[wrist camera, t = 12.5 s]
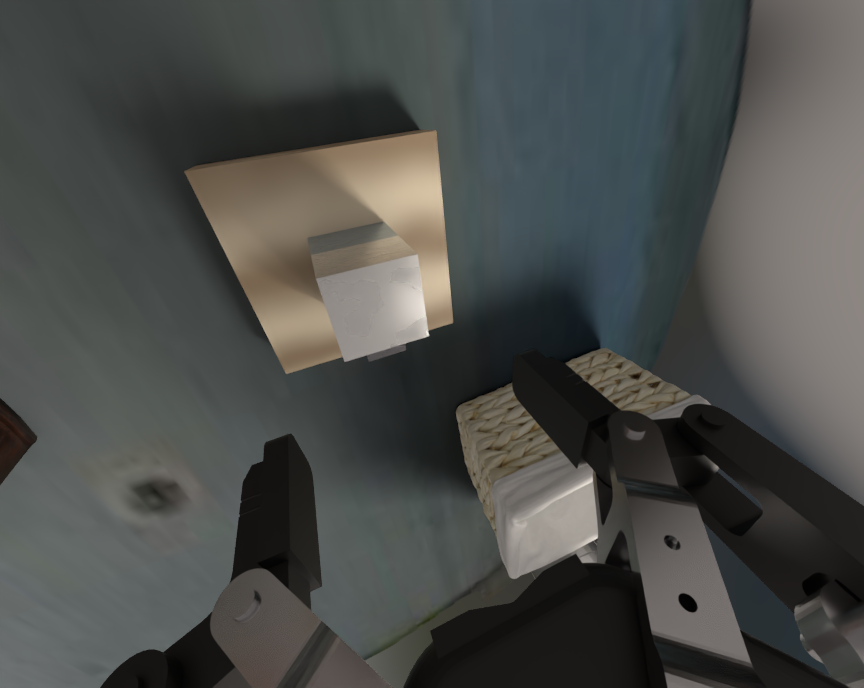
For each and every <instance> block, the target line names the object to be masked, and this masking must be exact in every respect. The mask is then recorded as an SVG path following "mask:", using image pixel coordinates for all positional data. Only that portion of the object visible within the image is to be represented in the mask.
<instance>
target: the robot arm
mask: <svg viewBox="0 0 864 688" xmlns="http://www.w3.org/2000/svg"><path fill="white" fill-rule="evenodd" d="M512 388H513V392H514V394H515V396H516V398H517V400H518V401H519V402H520V403H521V405H522V406H523V407H524V408H525V409H526V410H527V412H528V413H529V414H530V415H531V416H532V417H533V419H534V420H535V421H536V422H537V423H538V424H539V426H540V427H541V428H542V429H543V430H544V431H545V433H546V434H547V435H548V436H549V437H550V438H551V440H552V441H553V442H554V443H555V444H556V445H557V447H558V448H559V449H560V450H561V451H562V452H563V454H564V455H565V456H566V457H567V458H568V459H569V461H570V462H571V463H572V464H573V465H574V466H575V468H576V469H579V468H581V467H584V466H586V465H589V466H590V467H591V468H592V469H593V485H594V495H595V505H596V515H597V525H598V540H597V545H596V543H595V542H594V541H592V542H590V543H588V544H586V545H584V546H582V547H581V548H579V549H577V550H575V551H573V552H571V553H569V554H567V555H565V556H563V557H561V558H559V559H557V560H556V561H554V562H552V563H550V564H548V565H545V566H543V567H541V568H539V569H536V570H534V571H531V572H532V574H533V576H534V577H535V580H534V581H533V582H532V583H531V584H530V585H529V586H528V588H527V589H526V590H525V591H524V592H523V593H522V594H521V595H520V596H519V597H518V598H517V599H516V600H515V601H514V602H512V603H509V604H503V605H497V606H492V607H485V608H479V609H473V610H469V611H467V612H465V613H463V614H461V615H459V616H457V617H455V618H454V619H452V620H450V621H448V622H446V623H444V624H442V625H440V626H439V627H437V628H435V629H433V630H431V635H432V639H433V642H432V643H431V644H430V645H429V646H428V647H427V648H426V649H425V650H424V652H423V653H422V654H421V656H420V657H419V658H418V660H417V661H416V663H415V665H414V667H413V668H412V670H411V672H410V674H409V676H408V678H407V681H406V683H405V685H404V688H864V506H863V505H861V504H860V503H859V502H857V501H856V500H854V499H853V498H851V497H850V496H848V495H847V494H845V493H844V492H843V491H841V490H840V489H838V488H837V487H835V486H834V485H832V484H831V483H830V482H828V481H827V480H825V479H824V478H822V477H821V476H819V475H818V474H816V473H815V472H814V471H812V470H811V469H809V468H808V467H806V466H805V465H803V464H802V463H800V462H799V461H798V460H796V459H795V458H793V457H792V456H790V455H789V454H787V453H786V452H785V451H783V450H782V449H780V448H779V447H777V446H776V445H775V444H773V443H772V442H770V441H769V440H767V439H766V438H764V437H763V436H761V435H760V434H759V433H757V432H756V431H754V430H753V429H751V428H750V427H748V426H747V425H746V424H744V423H743V422H741V421H740V420H738V419H737V418H735V417H734V416H733V415H731V414H729V413H728V412H726V411H724V410H722V409H720V408H718V407H715V406H712V405H707V404H692V405H689V406H687V407H686V408H685V409H684V410H683V412H682V414H681V417H677V418H666V419H654V420H652V419H650V418H649V417H647V416H645V415H643V414H641V413H638V412H635V411H628V410H623V411H622V410H620V409H619V408H618V407H616V406H615V405H614V404H613V403H612V402H611V401H609V400H608V399H607V398H606V397H605V396H603V395H602V394H601V393H600V392H599V391H597V390H596V389H595V388H594V387H593V386H591V385H590V384H589V383H588V382H587V381H586V382H585V381H584V379H583V378H582V377H581V376H580V375H578V374H576V372H575V371H574V370H572V369H571V368H570V367H569V366H568V365H566V364H565V363H563V362H561V361H559V360H556V359H554V358H552V357H550V358H547V359H546V358H545V357H544V356H543V355H542V354H541V353H540V352H538V351H537V350H536V349H531V350H528V351H525V352H522V353H520V354H517V355H515V356H514V357H513V375H512ZM719 468H720V469H721V470H723V471H724V472H725V473H726V474H727V475H728V476H730V477H731V478H732V479H733V480H735V481H736V482H737V483H738V484H739V485H740V486H742V487H743V488H744V489H745V490H746V491H748V492H749V493H750V494H751V495H752V496H753V497H754V498H755V499H756V500H757V501H758V502H759V504H760V505H761V507H762V510H761V509H760V508H759V507H758V506H756V505H755V504H754V503H753V502H752V501H751V500H749V499H748V498H747V497H746V496H745V495H744V494H742V493H741V492H740V491H739V490H738V489H737V488H735V487H734V486H733V485H732V484H731V483H729V482H728V481H727V480H726V479H725V478H724V477H723V476H721V475H720V474H719V473H718V472H717V471H718V469H719ZM241 501H242V503H240V512H239V514H240V517H239V520H238V529H237V538H236V547H235V555H234V564H233V572H232V578H231V581H230V584H229V585H228V586H227V587H226V588H225V589H224V591H223V592H222V593H221V595H220V596H219V598H218V600H217V602H216V604H215V606H214V609H213V611H212V612H211V613H210V614H209V615H208V617H207V618H205V619H204V620H203V621H202V622H201V623H200V624H198V625H197V626H196V627H195V628H193V629H192V630H191V631H190V632H188V633H187V634H186V635H185V636H183V637H182V638H181V639H179V640H178V641H177V642H176V643H174V644H173V645H172V646H171V647H169V648H168V649H167V650H166V651H164V652H161V651H158V650H146V651H142V652H140V653H137V654H136V655H134V656H132V657H130V658H129V659H128V660H126V661H125V662H124V663H122V664H121V665H120V666H119V667H118V668H117V669H116V670H115V671H114V672H113V673H112V674H111V675H110V676H109V677H108V678H107V680H106V681H105V682H104V683H103V685H102V686H101V687H100V688H393V687H391V685H389V684H388V683H387V682H386V681H385V680H384V679H383V678H382V677H381V676H380V675H379V674H378V673H377V672H376V671H375V670H374V669H373V668H371V667H370V666H369V665H368V664H367V663H366V662H365V661H364V660H363V659H362V658H361V657H360V656H359V655H358V654H357V653H356V652H355V651H353V650H352V649H351V648H350V647H349V646H348V645H347V644H346V643H345V642H344V641H343V640H342V639H341V638H340V637H339V636H338V635H336V634H335V633H334V632H333V631H332V630H331V629H330V628H329V627H328V626H327V625H326V624H325V623H324V622H322V621H321V620H320V619H319V618H318V617H317V616H316V615H315V614H314V613H313V612H312V611H311V600H310V592H311V591H313V590H315V589H317V588H319V587H322V580H321V568H320V556H319V544H318V532H317V520H316V508H315V496H314V484H313V476H312V472H311V468H310V465H309V463H308V461H307V459H306V457H305V455H304V454H303V452H302V450H301V449H300V447H299V445H298V443H297V442H296V440H295V438H294V437H293V435H292V434H288V435H285V436H282V437H279V438H276V439H273V440H271V441H268V442H266V443H265V445H264V458H263V461H262V462H260V463H257V464H254V465H252V466H251V468H250V470H249V472H248V474H247V476H246V478H245V479H244V481H243V486H242V494H241ZM703 522H704V523H705V524H706V525H707V526H708V527H709V528H710V529H711V530H712V531H713V532H714V533H715V534H716V535H717V536H718V537H719V538H720V539H721V540H722V541H723V542H724V543H725V544H726V545H727V546H728V547H729V548H730V549H731V550H732V551H733V552H734V553H735V554H736V555H737V556H738V558H739V559H740V560H742V562H743V563H745V565H747V567H748V568H749V569H750V570H751V571H752V572H753V573H754V574H755V575H756V576H757V577H758V578H759V579H760V580H761V581H762V582H764V584H765V585H766V586H767V587H768V588H769V589H770V590H771V591H772V592H773V593H774V594H775V595H776V596H777V597H778V598H779V599H780V600H781V601H782V602H783V603H784V604H785V605H786V606H787V607H788V608H789V609H790V610H791V611H792V612H793V613H794V614H795V620H796V623H797V626H798V628H799V630H800V632H801V635H800V639H801V643H802V645H803V646H804V648H805V649H806V651H807V652H808V653H809V654H810V655H811V656H812V657H814V658H815V659H816V660H818V661H820V662H822V663H824V664H825V666H826V668H827V670H828V672H829V674H830V676H831V677H830V676H828V675H826V674H824V673H822V672H820V671H818V670H816V669H815V668H812V667H811V666H809V665H807V664H805V663H803V662H801V661H799V660H797V659H795V658H793V657H792V656H790V655H788V654H786V653H784V652H782V651H780V650H778V649H776V648H774V647H772V646H770V645H769V644H767V643H765V642H763V641H761V640H759V639H757V638H755V637H753V636H751V635H749V634H748V633H746V632H744V631H742V630H740V629H739V626H738V623H737V620H736V617H735V614H734V611H733V609H732V606H731V603H730V600H729V597H728V594H727V591H726V588H725V585H724V583H723V580H722V577H721V574H720V571H719V568H718V565H717V562H716V559H715V556H714V553H713V551H712V547H711V544H710V542H709V539H708V536H707V533H706V530H705V527H704V524H703Z"/></svg>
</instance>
